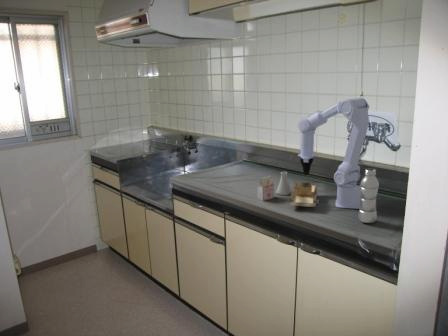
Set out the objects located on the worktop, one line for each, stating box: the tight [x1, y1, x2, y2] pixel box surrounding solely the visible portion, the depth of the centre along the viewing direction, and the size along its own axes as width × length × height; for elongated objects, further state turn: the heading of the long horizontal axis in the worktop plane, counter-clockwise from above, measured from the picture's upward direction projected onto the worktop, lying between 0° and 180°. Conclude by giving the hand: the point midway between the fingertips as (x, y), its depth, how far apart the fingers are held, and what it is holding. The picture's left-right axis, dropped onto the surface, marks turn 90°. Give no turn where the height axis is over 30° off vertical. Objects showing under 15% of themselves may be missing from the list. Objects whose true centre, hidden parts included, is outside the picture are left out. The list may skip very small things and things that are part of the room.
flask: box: [275, 171, 292, 196], centre depth 175 cm, size 7×7×10 cm
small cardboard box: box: [289, 181, 318, 208], centre depth 163 cm, size 10×22×3 cm, turn 165°
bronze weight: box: [297, 182, 313, 197], centre depth 162 cm, size 6×6×4 cm
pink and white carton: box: [256, 175, 275, 202], centre depth 169 cm, size 4×7×10 cm, turn 125°
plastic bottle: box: [357, 167, 380, 224], centre depth 138 cm, size 6×7×20 cm
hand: (306, 174), depth 173 cm, fingers closed
